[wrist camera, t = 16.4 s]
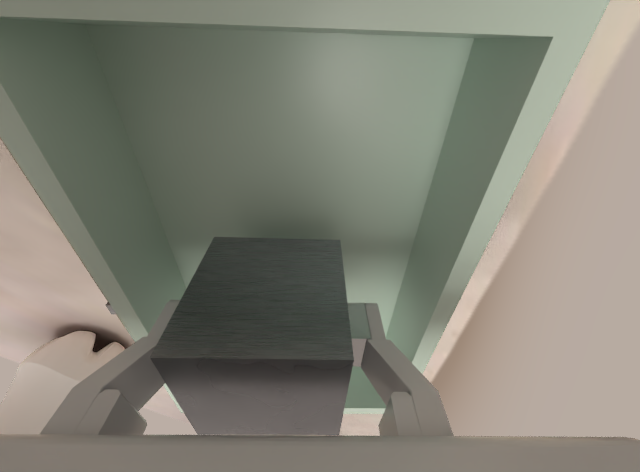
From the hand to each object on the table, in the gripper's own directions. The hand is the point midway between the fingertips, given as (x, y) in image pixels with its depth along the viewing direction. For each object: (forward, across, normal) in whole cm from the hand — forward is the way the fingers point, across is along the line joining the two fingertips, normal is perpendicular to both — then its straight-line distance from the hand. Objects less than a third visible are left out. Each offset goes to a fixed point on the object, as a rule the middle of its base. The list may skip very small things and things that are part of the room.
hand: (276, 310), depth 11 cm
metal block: (+2, 0, 0) cm, 2 cm away
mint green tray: (+5, 0, 0) cm, 5 cm away
